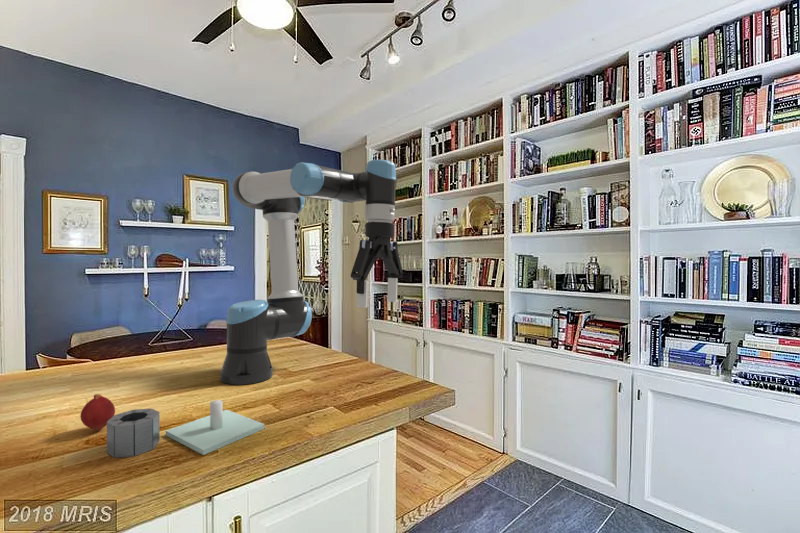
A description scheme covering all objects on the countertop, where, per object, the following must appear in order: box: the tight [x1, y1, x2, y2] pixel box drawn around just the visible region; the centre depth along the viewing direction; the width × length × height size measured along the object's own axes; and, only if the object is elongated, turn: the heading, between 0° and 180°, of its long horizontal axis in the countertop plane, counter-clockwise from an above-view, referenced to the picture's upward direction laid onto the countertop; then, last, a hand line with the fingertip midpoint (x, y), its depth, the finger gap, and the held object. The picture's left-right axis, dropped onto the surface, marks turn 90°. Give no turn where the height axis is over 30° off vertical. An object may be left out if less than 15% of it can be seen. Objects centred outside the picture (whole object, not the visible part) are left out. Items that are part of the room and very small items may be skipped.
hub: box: [106, 408, 160, 459], centre depth 78 cm, size 8×8×6 cm
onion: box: [79, 393, 116, 432], centre depth 85 cm, size 6×6×8 cm
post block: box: [165, 399, 266, 456], centre depth 85 cm, size 14×14×6 cm
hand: (378, 304), depth 102 cm, fingers open, 13 cm apart
